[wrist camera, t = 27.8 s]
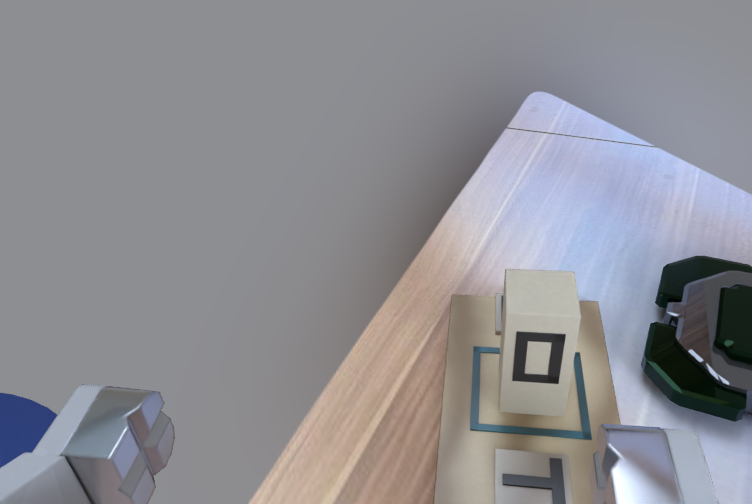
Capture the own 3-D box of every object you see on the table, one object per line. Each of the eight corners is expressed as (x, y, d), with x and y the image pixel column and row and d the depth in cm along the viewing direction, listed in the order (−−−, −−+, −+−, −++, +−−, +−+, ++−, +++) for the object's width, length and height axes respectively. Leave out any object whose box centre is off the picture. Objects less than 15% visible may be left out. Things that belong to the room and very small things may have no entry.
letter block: (498, 413, 49) (505, 313, 43) (498, 365, 52) (505, 268, 47) (564, 418, 48) (581, 317, 42) (559, 369, 52) (574, 271, 46)
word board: (431, 529, 42) (431, 519, 41) (451, 299, 60) (451, 289, 60) (641, 551, 40) (645, 541, 39) (596, 306, 58) (598, 296, 58)
